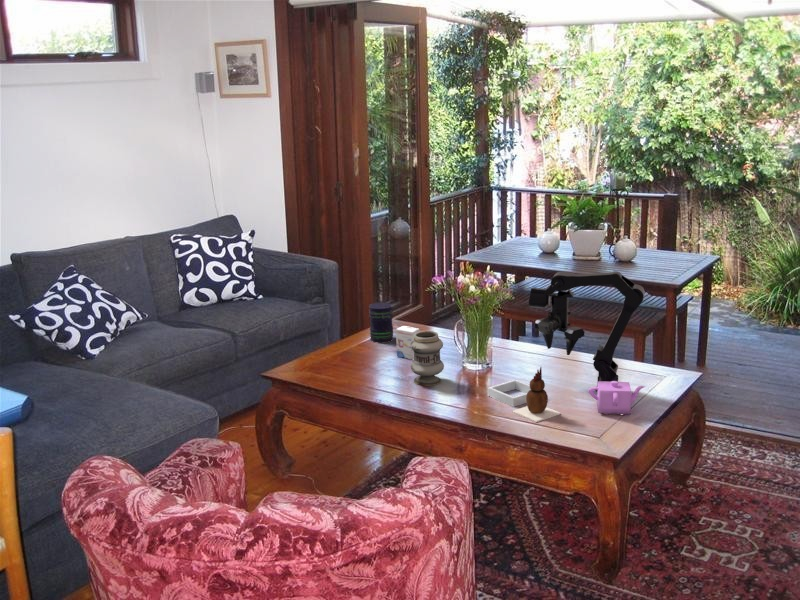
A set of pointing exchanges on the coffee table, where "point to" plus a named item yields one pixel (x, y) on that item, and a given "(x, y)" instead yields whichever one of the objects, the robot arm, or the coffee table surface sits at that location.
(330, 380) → the coffee table surface
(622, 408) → the teapot
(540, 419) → the tile
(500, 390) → the white square tray
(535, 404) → the wooden figurine
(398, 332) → the ink box
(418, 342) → the apothecary jar
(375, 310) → the storage jar
